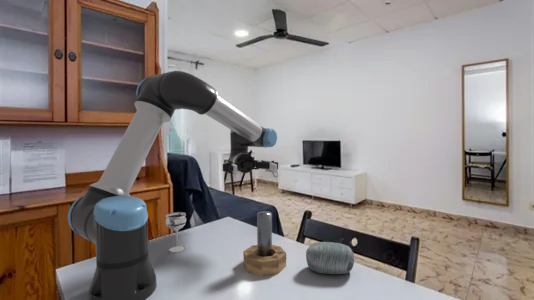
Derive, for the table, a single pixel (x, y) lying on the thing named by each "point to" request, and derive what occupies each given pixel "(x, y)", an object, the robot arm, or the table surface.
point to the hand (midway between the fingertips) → (256, 169)
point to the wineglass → (176, 226)
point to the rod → (264, 233)
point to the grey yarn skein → (330, 258)
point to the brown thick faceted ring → (264, 261)
